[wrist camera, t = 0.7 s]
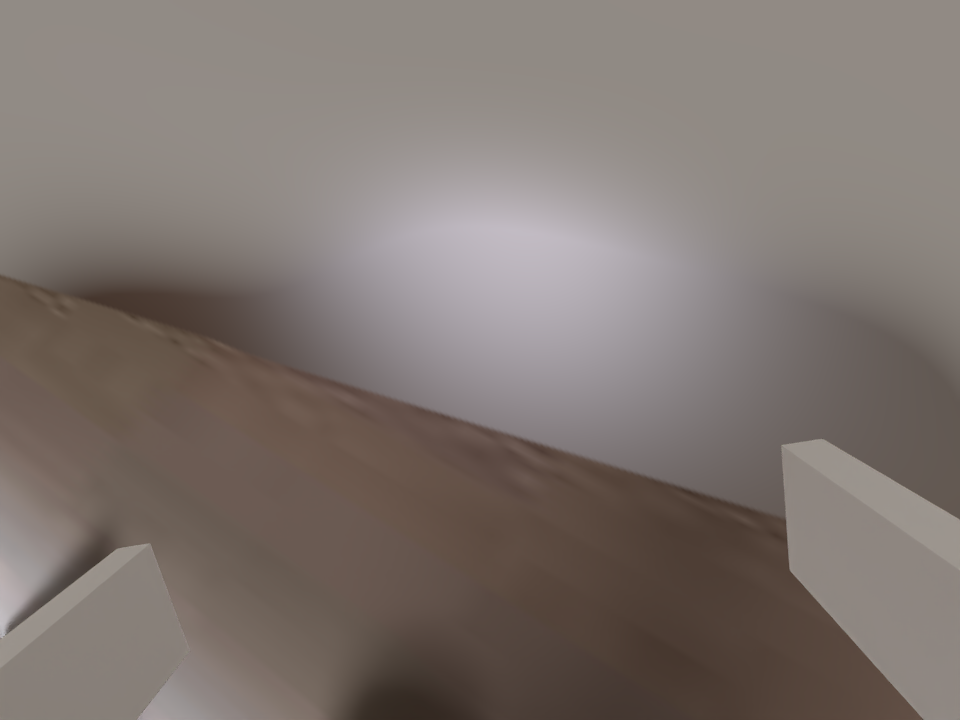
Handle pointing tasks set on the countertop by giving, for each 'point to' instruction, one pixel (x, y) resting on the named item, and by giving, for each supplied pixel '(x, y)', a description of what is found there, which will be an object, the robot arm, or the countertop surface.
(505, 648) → the countertop surface
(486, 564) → the countertop surface
